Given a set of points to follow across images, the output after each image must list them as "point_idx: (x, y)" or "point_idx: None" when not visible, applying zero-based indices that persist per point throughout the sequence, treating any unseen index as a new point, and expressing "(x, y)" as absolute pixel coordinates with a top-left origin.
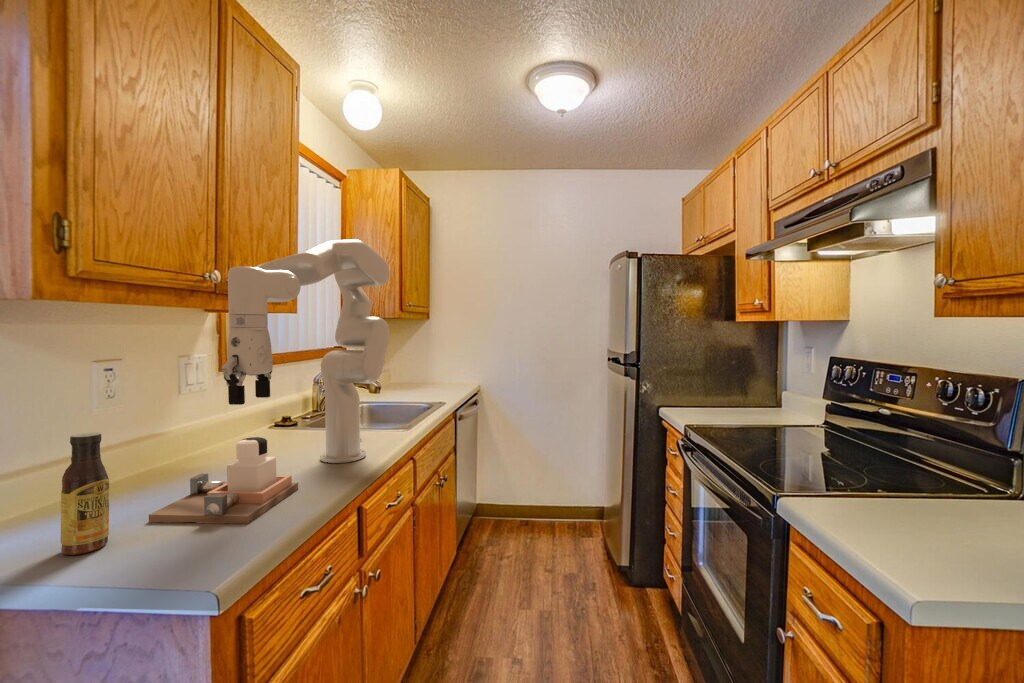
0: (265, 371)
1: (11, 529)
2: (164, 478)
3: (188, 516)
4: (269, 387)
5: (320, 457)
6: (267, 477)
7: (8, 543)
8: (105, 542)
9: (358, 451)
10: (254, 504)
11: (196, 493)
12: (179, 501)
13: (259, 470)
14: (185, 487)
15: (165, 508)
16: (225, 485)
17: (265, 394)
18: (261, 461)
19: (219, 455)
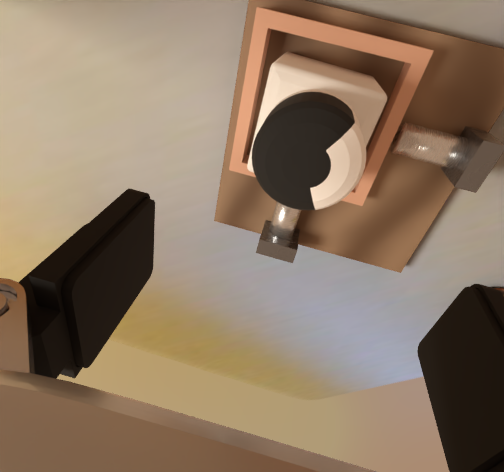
0: (192, 450)
1: (352, 390)
2: (155, 307)
3: (441, 204)
4: (94, 229)
5: None
6: (332, 70)
7: (408, 379)
8: (500, 289)
9: None
10: (430, 70)
11: (299, 232)
12: (334, 247)
13: (379, 88)
14: (207, 265)
15: (372, 257)
16: None
17: (145, 224)
18: (341, 97)
19: (13, 267)
